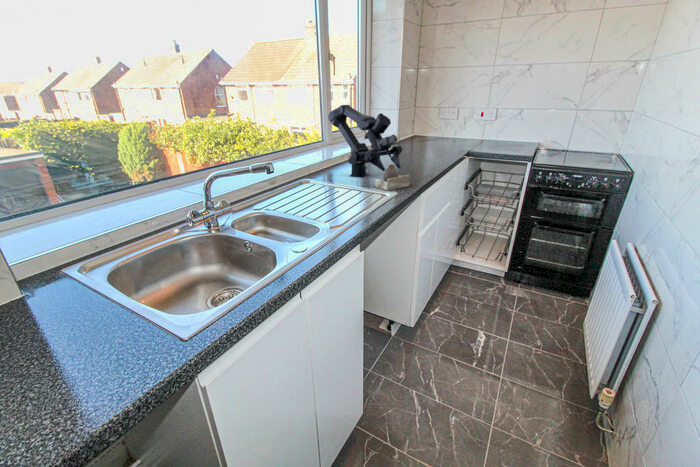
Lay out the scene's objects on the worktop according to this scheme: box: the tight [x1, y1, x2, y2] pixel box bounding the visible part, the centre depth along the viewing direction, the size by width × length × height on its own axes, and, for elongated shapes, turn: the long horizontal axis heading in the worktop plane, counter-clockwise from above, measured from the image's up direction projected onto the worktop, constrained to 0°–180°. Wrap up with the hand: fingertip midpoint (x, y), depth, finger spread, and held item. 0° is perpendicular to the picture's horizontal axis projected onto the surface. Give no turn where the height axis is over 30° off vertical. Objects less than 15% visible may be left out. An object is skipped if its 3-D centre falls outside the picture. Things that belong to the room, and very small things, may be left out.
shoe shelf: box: [374, 174, 411, 192], centre depth 147 cm, size 8×13×5 cm, turn 126°
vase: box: [383, 164, 400, 182], centre depth 147 cm, size 7×7×9 cm
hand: (392, 169), depth 145 cm, fingers open, 9 cm apart
